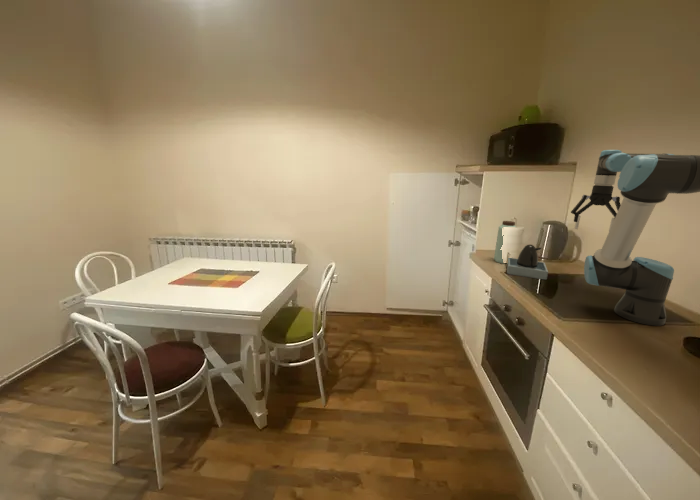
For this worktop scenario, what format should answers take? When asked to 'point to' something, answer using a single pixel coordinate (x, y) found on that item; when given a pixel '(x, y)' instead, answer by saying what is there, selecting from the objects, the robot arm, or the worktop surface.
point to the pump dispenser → (528, 257)
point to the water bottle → (501, 240)
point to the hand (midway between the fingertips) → (593, 230)
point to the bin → (527, 270)
